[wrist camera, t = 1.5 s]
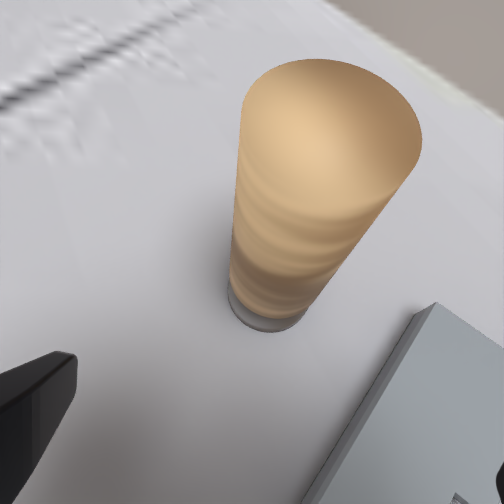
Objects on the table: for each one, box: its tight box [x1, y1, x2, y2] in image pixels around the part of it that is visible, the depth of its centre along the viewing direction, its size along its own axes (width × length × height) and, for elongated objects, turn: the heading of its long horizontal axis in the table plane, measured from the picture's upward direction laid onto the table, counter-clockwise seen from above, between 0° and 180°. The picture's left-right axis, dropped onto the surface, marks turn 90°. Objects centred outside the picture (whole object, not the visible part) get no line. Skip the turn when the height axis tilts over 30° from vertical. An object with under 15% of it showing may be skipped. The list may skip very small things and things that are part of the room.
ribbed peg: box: [228, 59, 422, 333], centre depth 16 cm, size 5×5×14 cm
